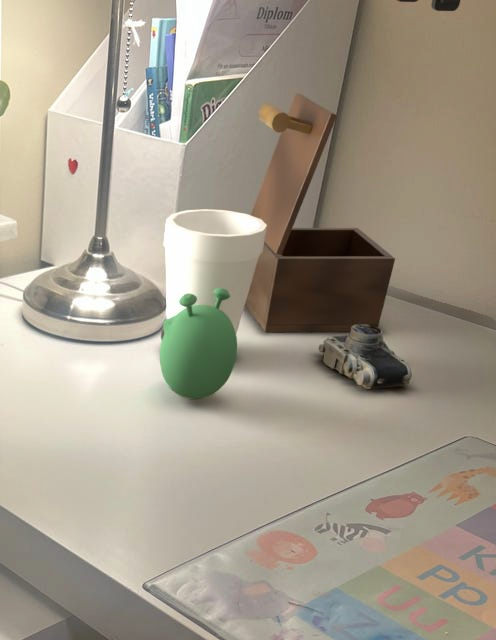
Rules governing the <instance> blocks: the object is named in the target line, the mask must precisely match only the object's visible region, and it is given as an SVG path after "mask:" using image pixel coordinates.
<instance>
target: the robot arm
mask: <svg viewBox="0 0 496 640" xmlns="http://www.w3.org/2000/svg"><path fill="white" fill-rule="evenodd" d="M396 1H397V2H401V3H416V2H418V1H419V0H396ZM460 3H461V0H431V9H432V10H434V11H438V12H455V11H457V10H458V8H459V6H460Z"/></svg>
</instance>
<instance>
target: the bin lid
mask: <svg viewBox="0 0 496 640" xmlns="http://www.w3.org/2000/svg"><path fill="white" fill-rule="evenodd" d="M337 118H338V115H337V114H336V113H335V112H332V111H331V110H330V109H327V108H326V107H324V106H322V105H321V104H319V103H318V102H316V101H314V100H312V99H310V98H309V97H307V96H305V95H304V94H302V93H300V92H299V93H298V92H296V93H295V94H294V97H293V100H292V102H291V105H290V108H289V111H288V113H286V112H285V111H284V110H282V109H280V108H279V107H277V106H276V105H275V104H273V103H269V102H268V103H265V104H263V105H262V106H261V108H260V109H259V111H258V119H259V120H260V122H261V123H263V124H264V125H265V126H267V127H269V128H270V129H271V130H273V131H274V132H275V133H279V134H280V135H279V138H278V140H277V143H276V145H275V149H274V151H273V154H272V156H271V159H270V162H269V164H268V167H267V169H266V173H265V176H264V177H263V181H262V184H261V186H260V190H259V192H258V194H257V197H256V200H255V202H254V205H253V207H252V210H251V212H250V215H251V216H254V217H256V218H259V219H261V220H262V221H263V222H264V223H265V224H266V225H267V228H266V234H265V240H264V241H265V242H266V243H267V245H268V246H269V247H270V248H271V249H272V250H273V251H274V252H275V253H276V254H279V255H282V253H283V250H284V248H285V245H286V243H287V240H288V238H289V235H290V233H291V230H292V228H294V225H295V223H296V220H297V217H298V215H299V212H300V210H301V207H302V205H303V203H304V200H305V198H306V195H307V193H308V190H309V187H310V185H311V182H312V180H313V177H314V175H315V173H316V170H317V168H318V165H319V163H320V160H321V157H322V155H323V153H324V149H325V148H326V145H327V142H328V139H329V138H330V135H331V133H332V130H333V127H334V125H335V122H336V120H337Z"/></svg>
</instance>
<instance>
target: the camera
mask: <svg viewBox="0 0 496 640" xmlns="http://www.w3.org/2000/svg"><path fill="white" fill-rule="evenodd" d="M318 352H319V353H320V354H323V355H324V356H323V359H322V360H323V364H324V365H325V366H327V367H329V368H330V369H331V370H336V371H338V372H339V374H341V375H344V376H346V377H348V378H349V379H351V380H354V381H355V382H356V384H357V385H359V386H362V387H363V388H365V389H366V390H372V389H373V390H374V389H375V390H376V389H383V388H396V387H405V386H408V385H409V384H410V381H411V379H412V376H413V372H412V368H411V366H410V364H409V363H408V362H405V360H404V359H402V358H401V357H399V356H398V355H396V353H395V352H394V351H393V350H391V349H390V348H389V346H388V345H387V343H386V342H385V339H384V333H383V330H382V329H381V328H379V327H378V328H377V327H373V326H369V325H367V324H358V325H354V326H352V327H351V331H350V332H349V333H348V334H347V335H336V336H335V335H334V336H328V337H326V338H325V340H323V342H322V343H321V344H319V345H318Z"/></svg>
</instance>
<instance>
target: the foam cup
mask: <svg viewBox="0 0 496 640" xmlns="http://www.w3.org/2000/svg"><path fill="white" fill-rule="evenodd" d="M266 228H267V225H266V224H265V223H264V222H263V221H262V220H261V219H259V218H256V217H254V216H251V214H248V213H243V212H238V211H232V210H228V209H227V210H225V209H209V208H203V209H185V210H181V211H178V212H174V213H171V214H170V215H169V216H168V217H167V218H166V219H165V229H164V238H163V247H165V286H166V287H165V288H166V292H165V293H166V319H169V318H171V317H173V316H175V315H177V314H178V313H179V312H180V311H182V310H183V309H185V308H186V307H184V306H182V305H180V303H179V300H180V298H181V297H182V296H183V295H185V294H193V295H195V296H196V297H197V301H196V302H195V303H194V304H193V305H192V306H194V305H208V306H213V307H214V306H215V303H216V300H217V298H216V296H215V295H214V292H213V291H214V290H215V289H218V288H223V289H226V290H227V291H228V292H229V294H230V297H229V298H228V299H225V300H222V302H221V304H220V307H219V310H221V311H223V312H224V313H225V314H226V315H227V316H228V318H229V319H230V320H231V322H232V324H233V327H234V330H235V333H236V334H237V333H238V330H239V326H240V323H241V320H242V317H243V314H244V313H243V312H244V309H245V307H246V305H245V302H246V299H247V296H248V292H249V289H250V285H251V282H252V278H253V275H254V272H255V268H256V265H257V261H258V258H259V256H260V254H261V253H262V251H263V246H264V240H265V234H266Z"/></svg>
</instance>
